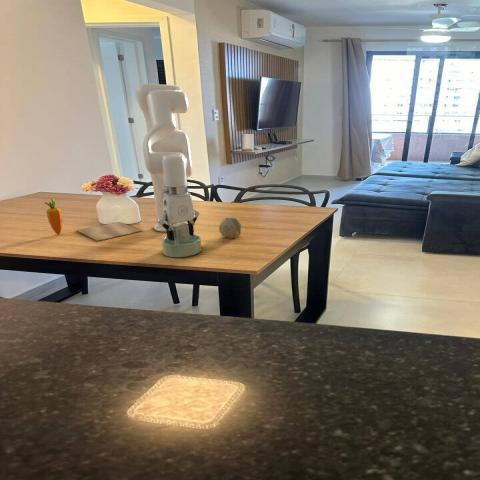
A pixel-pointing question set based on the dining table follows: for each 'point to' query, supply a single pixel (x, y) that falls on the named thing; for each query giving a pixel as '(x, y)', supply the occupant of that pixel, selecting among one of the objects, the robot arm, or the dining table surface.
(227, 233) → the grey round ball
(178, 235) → the grey rectangular block
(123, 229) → the mat
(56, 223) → the carrot
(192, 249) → the bowl
